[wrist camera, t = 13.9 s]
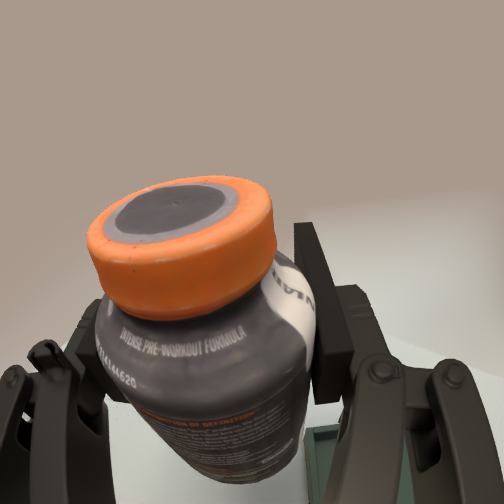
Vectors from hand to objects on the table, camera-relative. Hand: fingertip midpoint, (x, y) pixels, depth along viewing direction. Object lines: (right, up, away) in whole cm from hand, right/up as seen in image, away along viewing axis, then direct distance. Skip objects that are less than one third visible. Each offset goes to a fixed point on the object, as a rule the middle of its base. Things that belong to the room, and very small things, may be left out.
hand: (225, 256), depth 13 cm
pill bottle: (+1, -8, -1) cm, 8 cm away
